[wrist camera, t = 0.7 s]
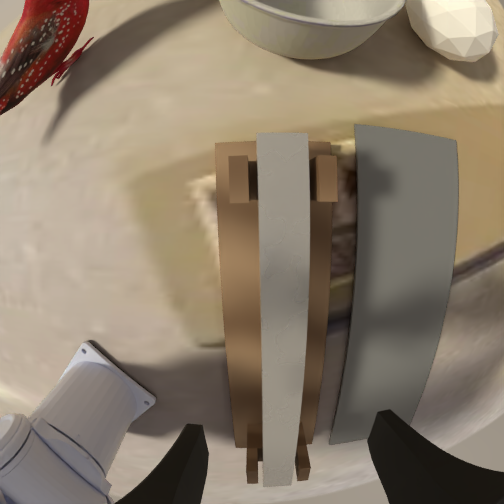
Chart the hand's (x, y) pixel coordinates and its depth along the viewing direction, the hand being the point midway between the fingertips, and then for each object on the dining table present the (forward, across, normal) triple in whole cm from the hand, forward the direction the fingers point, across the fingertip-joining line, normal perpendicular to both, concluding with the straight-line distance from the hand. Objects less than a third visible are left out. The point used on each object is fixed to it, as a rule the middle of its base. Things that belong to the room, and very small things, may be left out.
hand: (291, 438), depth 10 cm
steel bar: (+7, 0, 0) cm, 7 cm away
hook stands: (+10, 0, 0) cm, 10 cm away
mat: (+10, -10, 0) cm, 14 cm away
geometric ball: (+11, -14, -24) cm, 30 cm away
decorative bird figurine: (+11, +17, -20) cm, 28 cm away
